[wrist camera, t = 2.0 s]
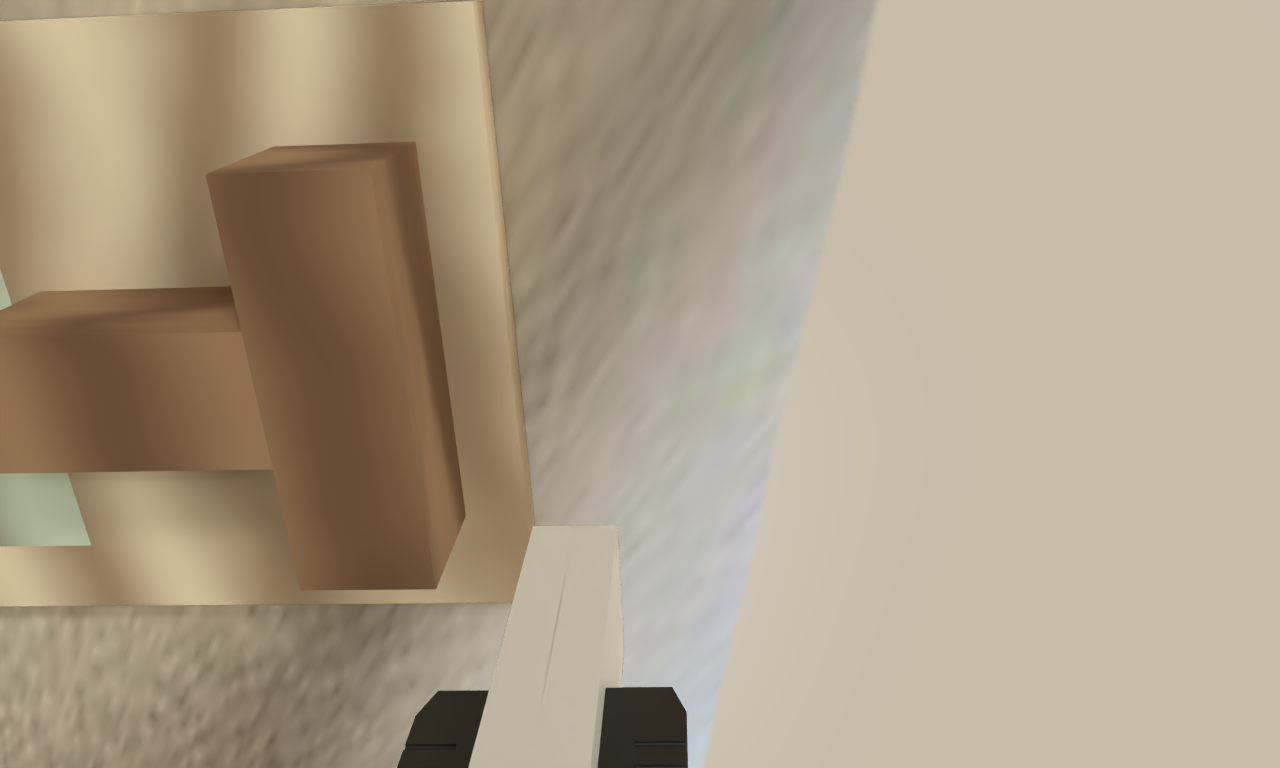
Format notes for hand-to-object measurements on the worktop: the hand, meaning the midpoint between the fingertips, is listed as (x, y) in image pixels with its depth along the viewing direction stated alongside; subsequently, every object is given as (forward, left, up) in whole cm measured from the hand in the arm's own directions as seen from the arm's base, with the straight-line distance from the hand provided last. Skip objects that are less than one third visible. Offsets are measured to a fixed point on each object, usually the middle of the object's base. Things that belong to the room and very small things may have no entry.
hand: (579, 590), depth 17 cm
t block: (+11, 0, -12) cm, 16 cm away
